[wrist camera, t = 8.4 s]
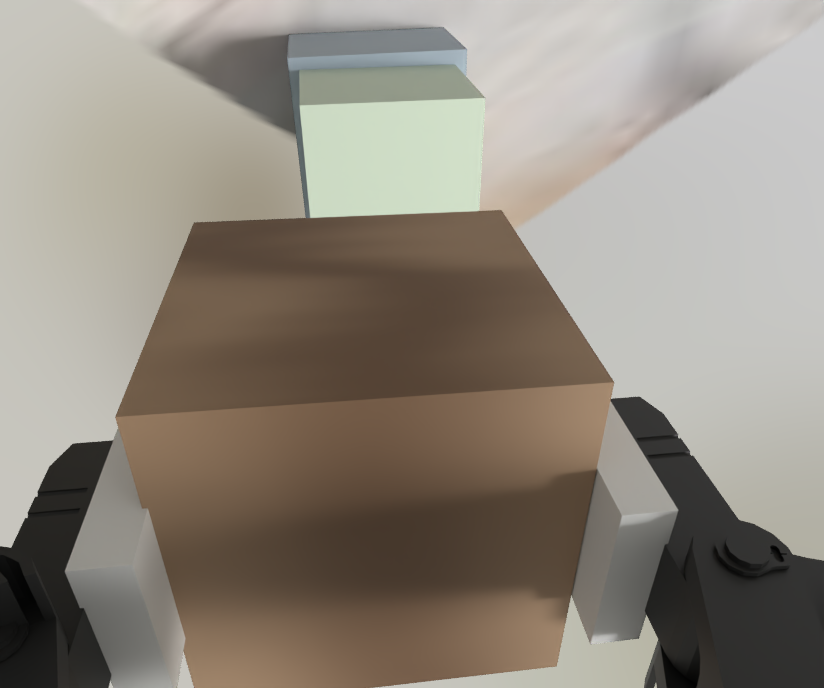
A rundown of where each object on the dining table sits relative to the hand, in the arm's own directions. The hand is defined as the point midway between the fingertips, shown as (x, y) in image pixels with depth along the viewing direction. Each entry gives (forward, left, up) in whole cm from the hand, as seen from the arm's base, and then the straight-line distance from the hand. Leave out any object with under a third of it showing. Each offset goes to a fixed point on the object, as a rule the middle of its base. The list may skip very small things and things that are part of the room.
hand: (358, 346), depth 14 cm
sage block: (+2, -2, -20) cm, 20 cm away
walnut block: (0, 0, 0) cm, 0 cm away
